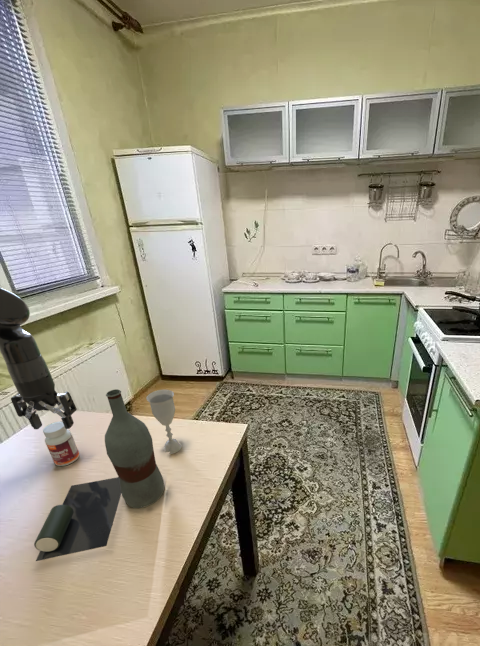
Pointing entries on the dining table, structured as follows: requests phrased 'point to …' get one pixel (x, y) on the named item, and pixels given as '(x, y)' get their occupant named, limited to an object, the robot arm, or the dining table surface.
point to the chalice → (164, 415)
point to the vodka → (132, 455)
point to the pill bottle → (60, 444)
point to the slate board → (88, 517)
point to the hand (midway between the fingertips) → (54, 427)
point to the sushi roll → (54, 528)
